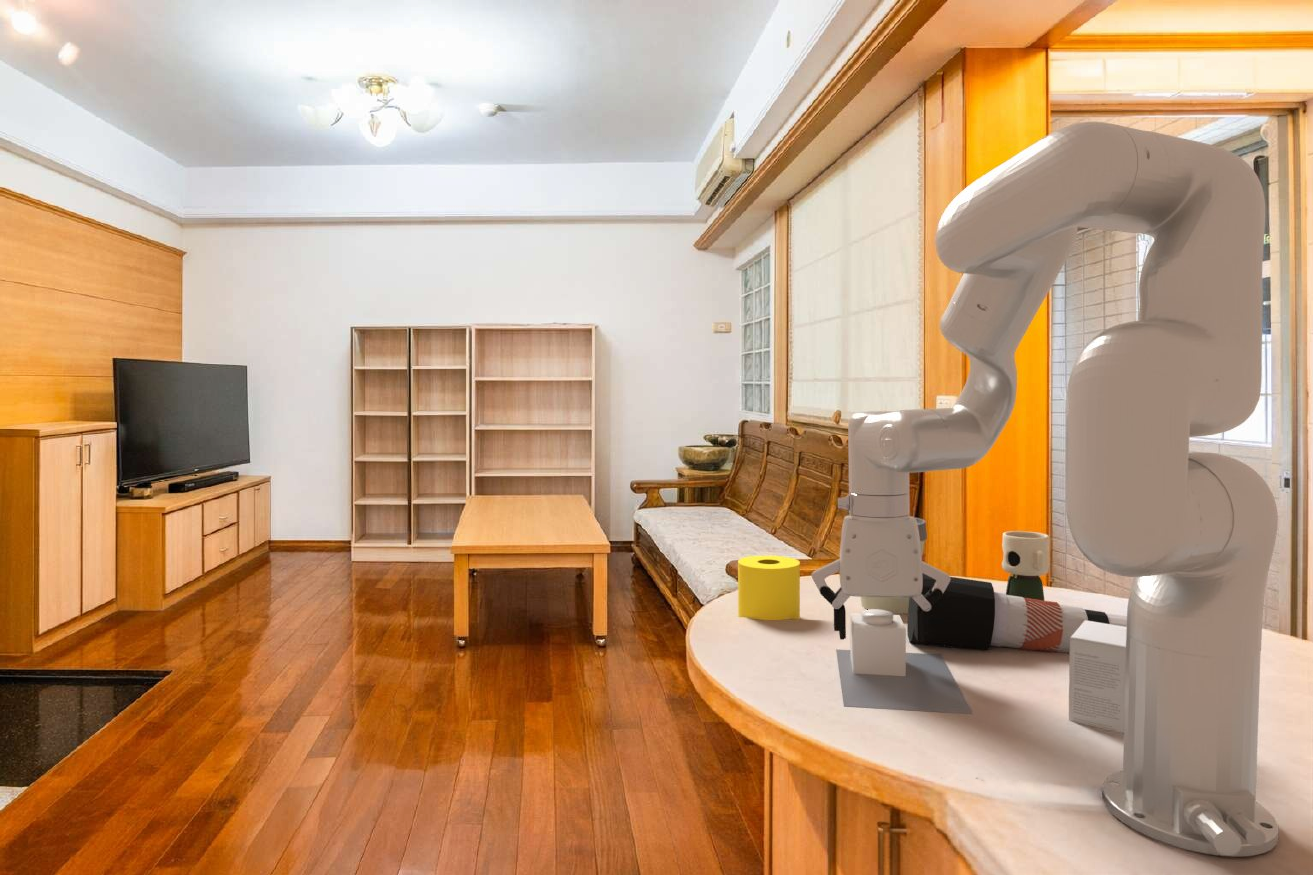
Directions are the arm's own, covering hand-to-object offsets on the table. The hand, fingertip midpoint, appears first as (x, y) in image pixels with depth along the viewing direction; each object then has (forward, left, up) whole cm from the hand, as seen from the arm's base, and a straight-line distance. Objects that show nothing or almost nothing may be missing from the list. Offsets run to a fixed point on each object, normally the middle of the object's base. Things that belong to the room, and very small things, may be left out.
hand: (880, 637), depth 102 cm
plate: (-4, -2, -5) cm, 6 cm away
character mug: (+34, -27, -5) cm, 44 cm away
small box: (-12, -23, -5) cm, 26 cm away
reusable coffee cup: (+34, -5, -5) cm, 35 cm away
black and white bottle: (+12, -22, -6) cm, 26 cm away
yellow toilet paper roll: (+24, +15, -5) cm, 29 cm away
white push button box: (0, 0, -4) cm, 4 cm away
